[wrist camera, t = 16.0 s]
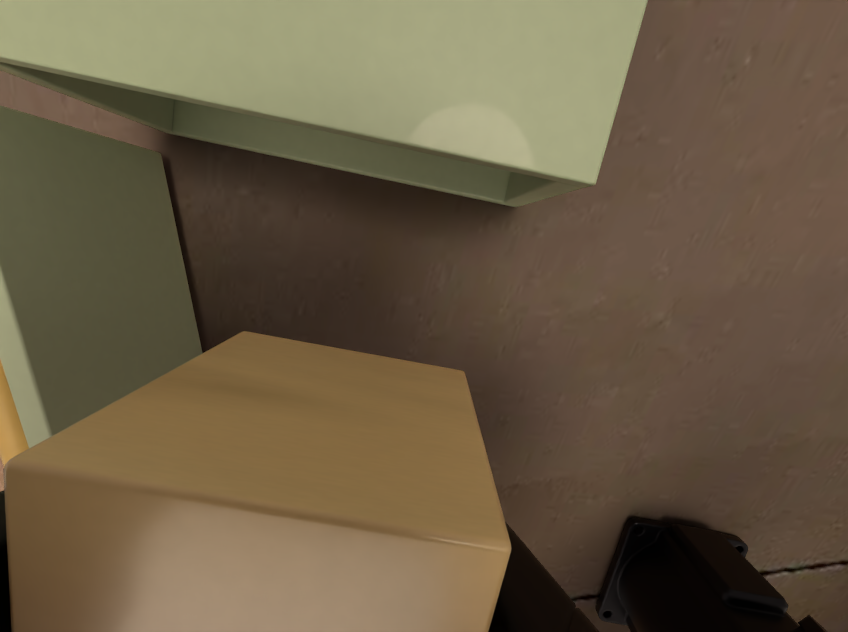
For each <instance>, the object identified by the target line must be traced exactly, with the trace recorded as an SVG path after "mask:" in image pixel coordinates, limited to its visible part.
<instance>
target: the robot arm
mask: <svg viewBox="0 0 848 632" xmlns="http://www.w3.org/2000/svg"><path fill="white" fill-rule="evenodd" d="M505 524H506V528H507V531H508V535H509V539H510V542H511V548H512V549H511V553H510V557H509V560H508V564H507V567H506V571H505V574H504V578H503V582H502V585H501V589H500V592H499V596H498V599H497V603H496V606H495V610H494V614H493V617H492V621H491V624H490V628H489V631H488V632H599V631H598V630H597V629H596V628H595V626H594V625H593V624H592V623H591V622H590V621H589V619H588V618H587V617H586V616H585V615H584V613H583V612H582V611H581V610H580V609H579V608H576V609H575V607H576V605H575V603H574V602H573V601H572V600H571V598H570V597H569V596H568V595H567V594H566V593H565V591H564V590H563V589H562V588H561V587H560V585H559V584H558V583H557V582H556V581H555V580H554V578H553V577H552V576H551V575H550V574H549V572H548V571H547V570H546V569H545V568H544V567H543V565H542V564H541V563H540V562H539V561H538V560H537V558H536V557H535V556H534V555H533V554H532V552H531V551H530V550H529V549H528V548H527V547H526V545H525V544H524V543H523V542H522V541H521V540H520V538H519V537H518V536H517V535H516V534H515V532H514V531H513V530H512V529H511V528H510V527H509V525H508V524H507V523H506V522H505ZM637 527H639V528H638V529H636V530H635V528H637ZM747 551H748V546H747V545H746V544H745V543H744V542H743V541H742V540H741V539H740V538H739V537H736V536H732V535H726V534H721V533H720V532H717V531H711V530H706V529H701V528H696V527H690V526H685V525H680V524H669V523H663V522H658V521H653V520H648V519H642V518H631V519H630V520H628V521H627V523H626V525H625V528H624V530H623V533H622V536H621V539H620V541H619V544H618V547H617V550H616V552H615V555H614V558H613V561H612V563H611V566H610V569H609V572H608V574H607V577H606V580H605V583H604V585H603V588H602V591H601V594H600V596H599V599H598V602H597V605H596V611H597V613H598V616H599V618H600V619H601V620H602V621H605V622H611V623H616V624H622V625H627V626H628V627H629V629H630V631H631V632H827V631H826V630H825V629H824V628H823V627H822V626H821V625H820V624H819V623H817V622H816V621H815V620H814V619H813V618H812V617H811V616H810V615H808V616H807V617H805V618H804V619H802V620H801V621H800V622H798V624H799V625H800V626H799V625H798V624H797V623H796V622H795V621H794V620H793V619H792V618H791V617H790V616H789V615H788V613H787V612H786V610H787V608H788V604H787V603H786V601H785V599H784V598H783V597H782V596H781V595H780V594H779V593H778V592H777V591H776V590H775V588H774V587H773V586H772V585H771V584H770V583H769V582H768V581H767V580H766V579H765V578H764V577H763V576H762V575H761V574H760V573H759V572H758V571H757V570H756V569H755V568H754V567H753V566H752V565H751V564H750V563H749V562H748V561H747V560H746V559H745V556H746V554H747ZM0 632H11V614H10V593H9V573H8V553H7V533H6V513H5V492H4V491H1V492H0Z"/></svg>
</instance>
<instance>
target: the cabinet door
mask: <svg viewBox="0 0 848 632" xmlns="http://www.w3.org/2000/svg"><path fill="white" fill-rule="evenodd" d="M200 354H202V348H201V343H200V338H199V334H198V329H197V324H196V319H195V314H194V310H193V305H192V300H191V295H190V291H189V286H188V281H187V276H186V271H185V267H184V262H183V257H182V252H181V247H180V243H179V238H178V233H177V228H176V223H175V219H174V214H173V209H172V204H171V200H170V195H169V190H168V185H167V180H166V176H165V171H164V166H163V161H162V156H161V153H159V152H156V151H152V150H149V149H145V148H142V147H139V146H135V145H132V144H129V143H125V142H122V141H118V140H115V139H112V138H108V137H105V136H102V135H98V134H95V133H91V132H88V131H85V130H81V129H78V128H75V127H71V126H68V125H64V124H61V123H58V122H54V121H51V120H48V119H44V118H41V117H37V116H34V115H31V114H27V113H24V112H20V111H17V110H14V109H10V108H7V107H4V106H0V457H1V460H2V463H3V465H4V467H5V464H6V463H7V462H8V461H9V460H10V459H11V458H13V457H15V456H16V455H18V454H20V453H22V452H24V451H26V450H27V449H29V448H31V447H33V446H35V445H37V444H38V443H40V442H42V441H44V440H46V439H47V438H49V437H51V436H53V435H55V434H57V433H58V432H60V431H62V430H64V429H66V428H67V427H69V426H71V425H73V424H75V423H77V422H78V421H80V420H82V419H84V418H86V417H88V416H89V415H91V414H93V413H95V412H97V411H98V410H100V409H102V408H104V407H106V406H108V405H109V404H111V403H113V402H115V401H117V400H118V399H120V398H122V397H124V396H126V395H128V394H129V393H131V392H133V391H135V390H137V389H139V388H140V387H142V386H144V385H146V384H148V383H149V382H151V381H153V380H155V379H157V378H159V377H160V376H162V375H164V374H166V373H168V372H170V371H171V370H173V369H175V368H177V367H179V366H180V365H182V364H184V363H186V362H188V361H190V360H191V359H193V358H195V357H197V356H199V355H200Z"/></svg>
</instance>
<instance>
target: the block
mask: <svg viewBox="0 0 848 632" xmlns="http://www.w3.org/2000/svg"><path fill="white" fill-rule="evenodd" d="M3 472H4V492H5V513H6V533H7V553H8V573H9V593H10V614H11V632H488V631H489V628H490V624H491V621H492V617H493V614H494V610H495V606H496V603H497V599H498V596H499V592H500V589H501V585H502V582H503V578H504V574H505V571H506V567H507V564H508V560H509V557H510V553H511V549H512V548H511V542H510V539H509V535H508V531H507V528H506V524H505V520H504V516H503V513H502V509H501V505H500V502H499V498H498V494H497V490H496V487H495V483H494V479H493V476H492V472H491V468H490V464H489V461H488V457H487V453H486V450H485V446H484V442H483V438H482V435H481V431H480V427H479V424H478V420H477V416H476V412H475V409H474V405H473V401H472V398H471V394H470V390H469V386H468V383H467V379H466V375H465V372H463V371H461V370H456V369H450V368H445V367H439V366H434V365H428V364H423V363H417V362H412V361H406V360H401V359H395V358H390V357H384V356H379V355H373V354H368V353H362V352H357V351H351V350H346V349H340V348H335V347H329V346H324V345H318V344H313V343H307V342H302V341H296V340H291V339H285V338H280V337H274V336H269V335H263V334H258V333H252V332H247V331H243V332H241V333H239V334H237V335H235V336H233V337H231V338H230V339H228V340H226V341H224V342H222V343H221V344H219V345H217V346H215V347H213V348H211V349H210V350H208V351H206V352H204V353H202V354H200V355H199V356H197V357H195V358H193V359H191V360H190V361H188V362H186V363H184V364H182V365H180V366H179V367H177V368H175V369H173V370H171V371H170V372H168V373H166V374H164V375H162V376H160V377H159V378H157V379H155V380H153V381H151V382H149V383H148V384H146V385H144V386H142V387H140V388H139V389H137V390H135V391H133V392H131V393H129V394H128V395H126V396H124V397H122V398H120V399H118V400H117V401H115V402H113V403H111V404H109V405H108V406H106V407H104V408H102V409H100V410H98V411H97V412H95V413H93V414H91V415H89V416H88V417H86V418H84V419H82V420H80V421H78V422H77V423H75V424H73V425H71V426H69V427H67V428H66V429H64V430H62V431H60V432H58V433H57V434H55V435H53V436H51V437H49V438H47V439H46V440H44V441H42V442H40V443H38V444H37V445H35V446H33V447H31V448H29V449H27V450H26V451H24V452H22V453H20V454H18V455H16V456H15V457H13V458H11V459H10V460H9V461H8V462H7V463H6V464H5V467H4V469H3Z"/></svg>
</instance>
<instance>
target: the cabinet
mask: <svg viewBox="0 0 848 632" xmlns="http://www.w3.org/2000/svg"><path fill="white" fill-rule="evenodd" d="M647 2H648V0H0V70H1V71H4V72H7V73H9V74H12V75H14V76H17V77H20V78H22V79H25V80H28V81H30V82H33V83H36V84H38V85H41V86H43V87H46V88H49V89H51V90H54V91H57V92H59V93H62V94H65V95H67V96H70V97H73V98H75V99H78V100H80V101H83V102H86V103H88V104H91V105H94V106H96V107H99V108H102V109H104V110H107V111H110V112H112V113H115V114H117V115H120V116H123V117H125V118H128V119H131V120H133V121H136V122H139V123H141V124H144V125H147V126H149V127H152V128H154V129H158V130H160V131H163V132H165V133H168V134H173V135H178V136H182V137H187V138H192V139H197V140H201V141H206V142H211V143H215V144H220V145H225V146H229V147H234V148H239V149H244V150H248V151H253V152H258V153H262V154H267V155H272V156H277V157H281V158H286V159H291V160H295V161H300V162H305V163H310V164H314V165H319V166H324V167H328V168H333V169H338V170H342V171H347V172H352V173H357V174H361V175H366V176H371V177H375V178H380V179H385V180H390V181H394V182H399V183H404V184H408V185H413V186H418V187H423V188H427V189H432V190H437V191H441V192H446V193H451V194H455V195H460V196H465V197H470V198H474V199H479V200H484V201H488V202H493V203H498V204H503V205H507V206H512V207H519V206H522V205H526V204H529V203H533V202H536V201H540V200H543V199H547V198H550V197H553V196H557V195H560V194H564V193H567V192H571V191H574V190H578V189H581V188H584V187H589V186H593V185H595V184H596V181H597V178H598V174H599V171H600V167H601V164H602V160H603V157H604V153H605V149H606V146H607V142H608V139H609V135H610V132H611V128H612V125H613V121H614V118H615V114H616V111H617V107H618V104H619V100H620V97H621V93H622V90H623V86H624V83H625V79H626V76H627V72H628V68H629V65H630V61H631V58H632V54H633V51H634V47H635V44H636V40H637V37H638V33H639V30H640V26H641V23H642V19H643V16H644V12H645V9H646V5H647Z"/></svg>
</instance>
